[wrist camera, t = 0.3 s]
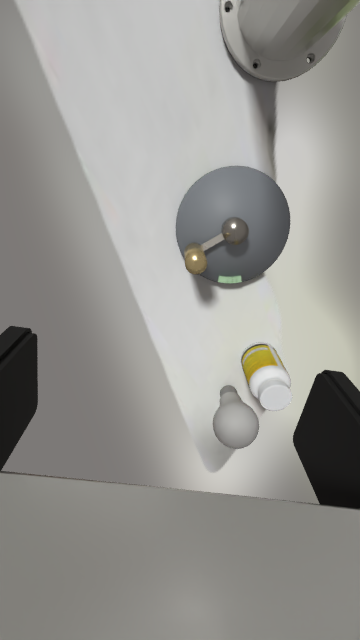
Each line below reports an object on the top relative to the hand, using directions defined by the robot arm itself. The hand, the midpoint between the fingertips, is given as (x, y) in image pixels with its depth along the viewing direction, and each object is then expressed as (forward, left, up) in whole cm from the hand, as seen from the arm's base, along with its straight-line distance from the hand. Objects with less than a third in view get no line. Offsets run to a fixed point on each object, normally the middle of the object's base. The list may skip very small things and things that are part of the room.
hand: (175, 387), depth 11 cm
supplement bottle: (+12, +19, -34) cm, 41 cm away
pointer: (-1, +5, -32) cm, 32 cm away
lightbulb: (+19, +18, -34) cm, 43 cm away
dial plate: (-3, +6, -34) cm, 34 cm away
